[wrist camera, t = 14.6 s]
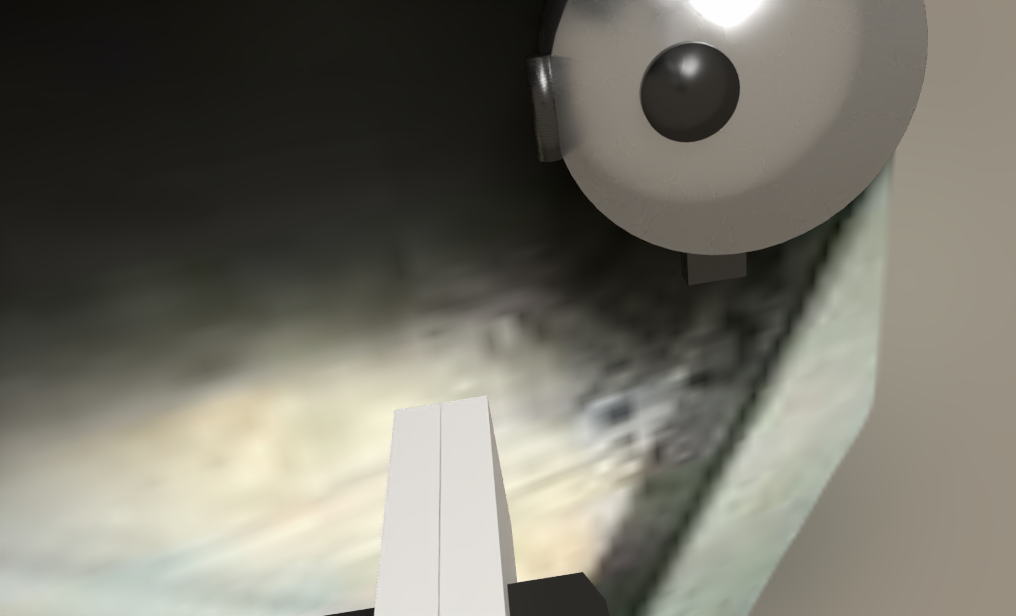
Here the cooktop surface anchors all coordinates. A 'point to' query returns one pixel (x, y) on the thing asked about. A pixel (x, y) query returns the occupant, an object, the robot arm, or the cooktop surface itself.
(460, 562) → the robot arm
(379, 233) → the cooktop surface
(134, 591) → the cooktop surface
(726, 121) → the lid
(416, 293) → the cooktop surface
